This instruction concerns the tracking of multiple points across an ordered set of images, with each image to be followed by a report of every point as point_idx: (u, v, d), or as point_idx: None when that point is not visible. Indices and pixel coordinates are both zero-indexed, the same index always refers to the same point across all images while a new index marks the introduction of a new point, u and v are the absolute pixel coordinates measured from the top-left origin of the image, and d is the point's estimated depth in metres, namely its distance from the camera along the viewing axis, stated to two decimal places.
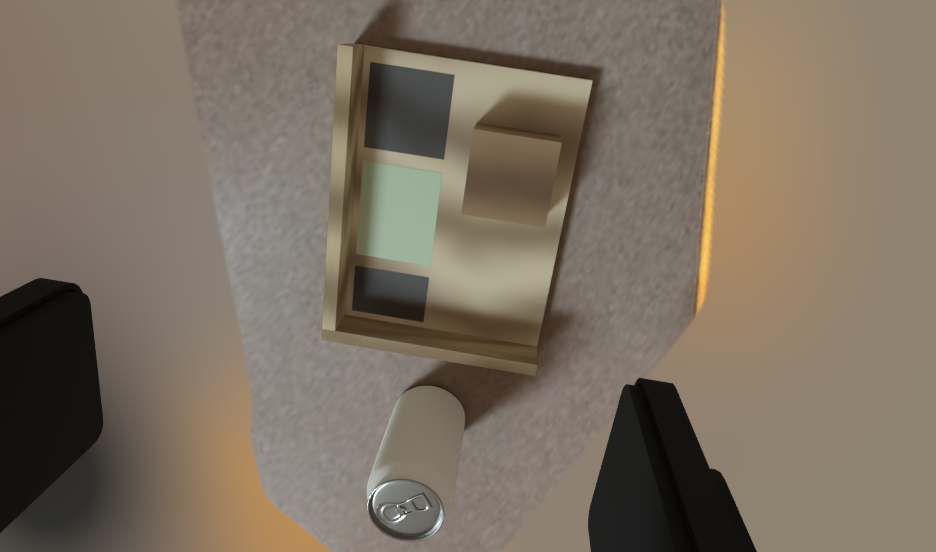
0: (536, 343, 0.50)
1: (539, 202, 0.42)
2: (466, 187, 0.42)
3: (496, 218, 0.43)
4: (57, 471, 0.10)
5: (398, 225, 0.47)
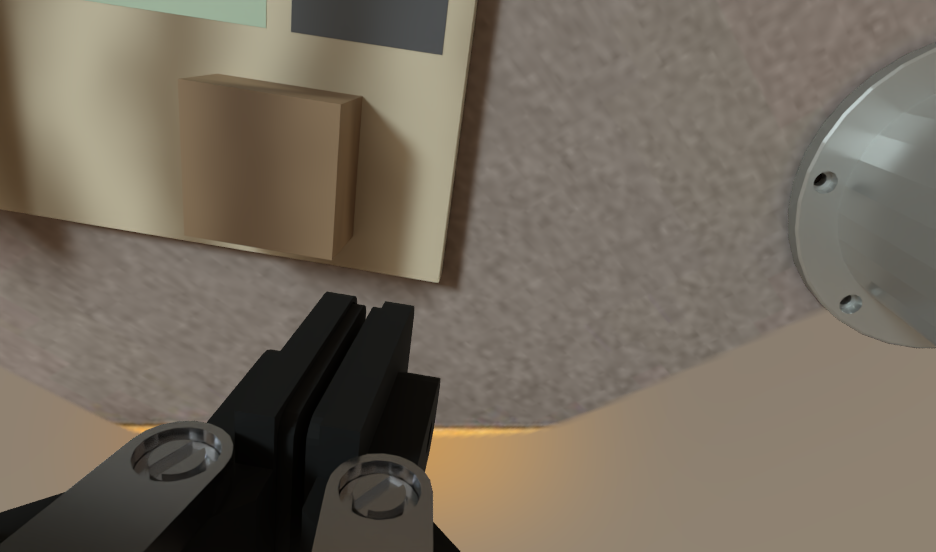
0: None
1: (225, 224, 0.24)
2: (230, 90, 0.22)
3: (183, 148, 0.23)
4: None
5: None
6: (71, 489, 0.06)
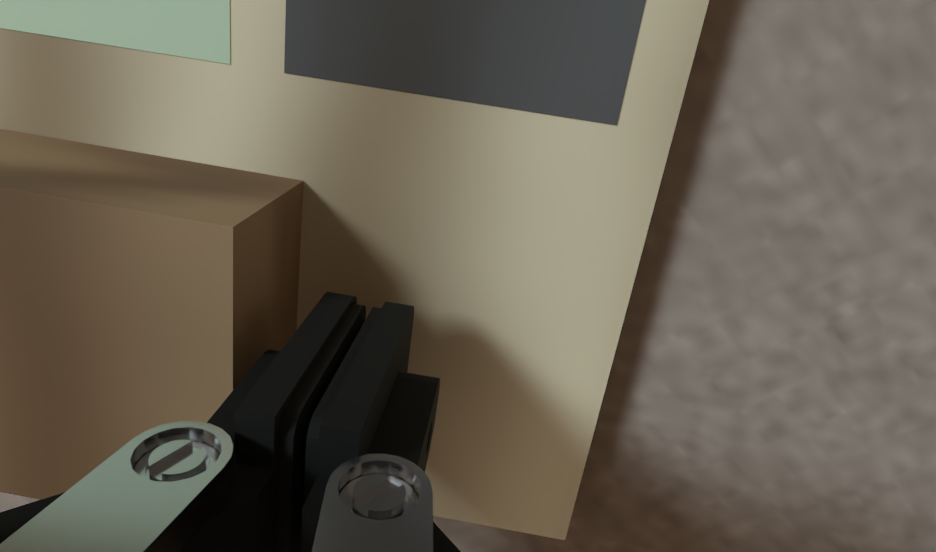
0: None
1: (1, 460, 0.11)
2: None
3: None
4: None
5: None
6: (72, 488, 0.06)
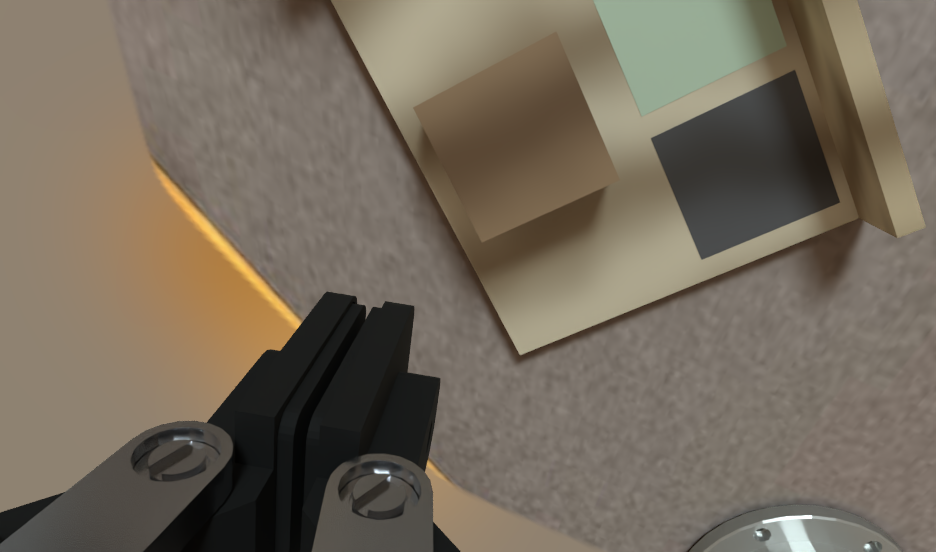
0: None
1: (450, 139, 0.24)
2: (575, 83, 0.23)
3: (495, 66, 0.23)
4: None
5: None
6: (71, 489, 0.06)
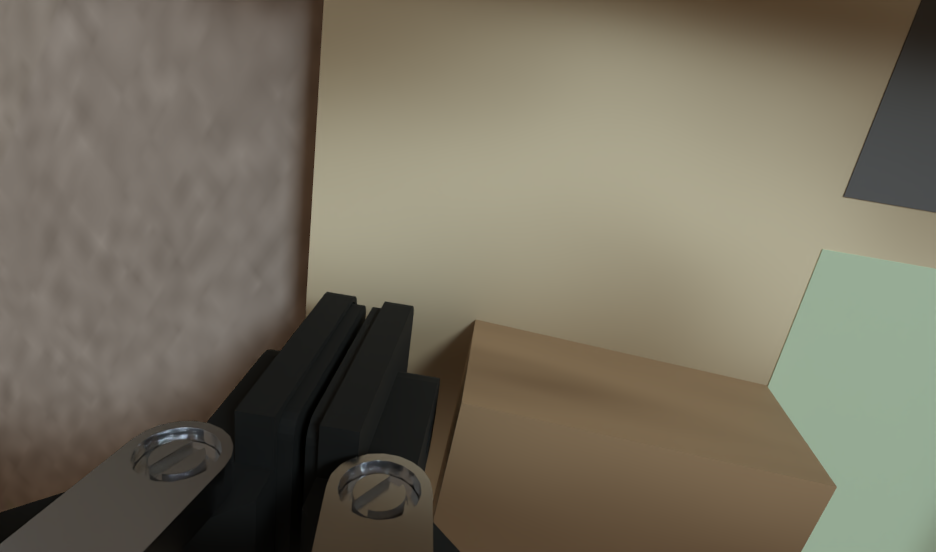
0: None
1: (484, 497, 0.10)
2: None
3: (677, 456, 0.10)
4: None
5: (913, 409, 0.12)
6: (72, 488, 0.06)
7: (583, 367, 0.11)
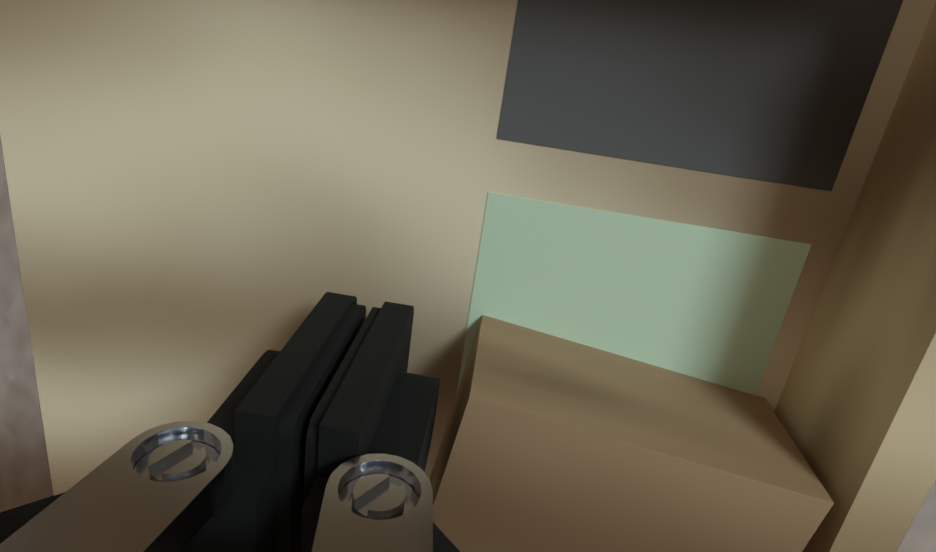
0: None
1: (484, 492, 0.10)
2: None
3: (680, 463, 0.10)
4: None
5: None
6: (73, 488, 0.06)
7: (588, 369, 0.11)
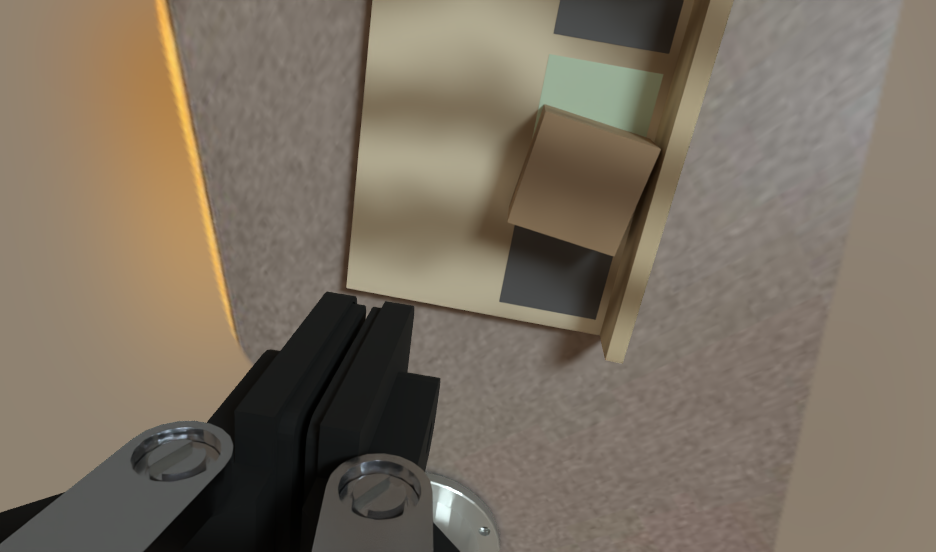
0: None
1: (548, 149, 0.31)
2: (643, 185, 0.31)
3: (612, 135, 0.30)
4: None
5: None
6: (72, 488, 0.06)
7: (583, 118, 0.32)
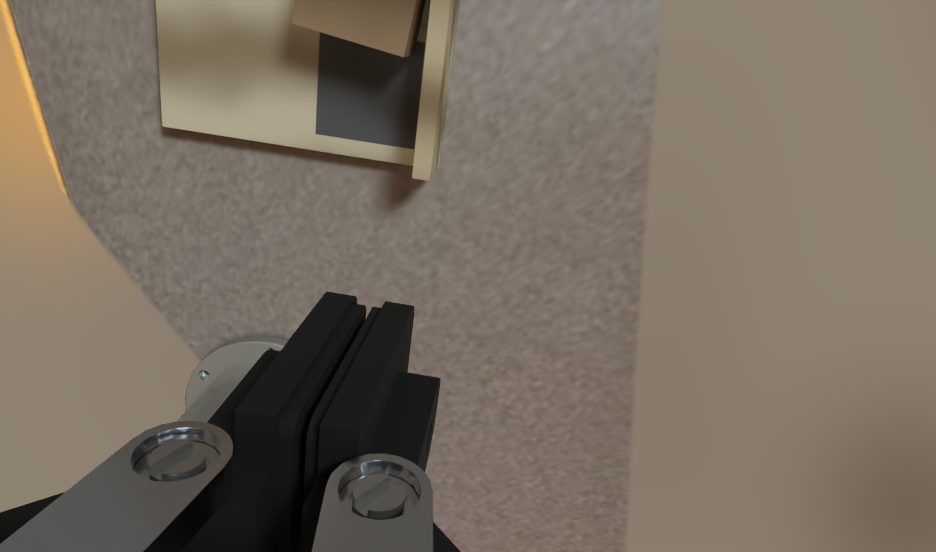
0: None
1: None
2: None
3: None
4: None
5: None
6: (72, 488, 0.06)
7: None
